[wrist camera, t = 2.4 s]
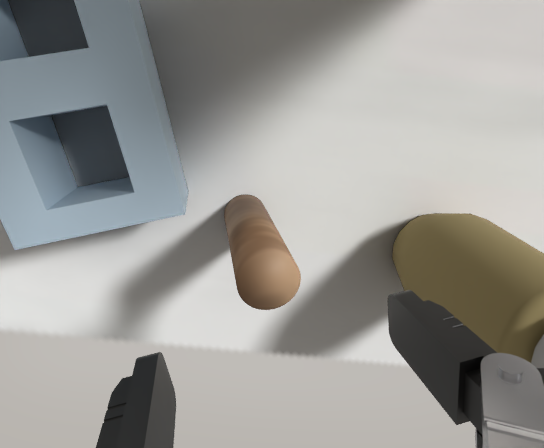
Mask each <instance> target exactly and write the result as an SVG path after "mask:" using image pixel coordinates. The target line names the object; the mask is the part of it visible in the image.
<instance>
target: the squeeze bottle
mask: <svg viewBox="0 0 544 448" xmlns="http://www.w3.org/2000/svg"><path fill="white" fill-rule="evenodd" d="M392 259H393V261H394V264H395V267H396V270H397V272H398V275H399V278H400V280H401V283H402V286H403V288H404V291H406V290H411V291H413V292H414V293H415V294H416V295H417V296H418V297H419V298H421V299H422V300H423V301H426V300H430V301H432V302H434V303H436V304H439V305H441V306H443V307H444V308H445V309H447V310H448V311H449V312H450V313H451V314H453V315H454V317H455V318H457V319H458V320H460V321H461V322H462V323H463V325H465V326H467V327H468V328H469V329H470V330H471V331H472V332H474V333H475V334H476V335H477V336H478V337H480V338H481V339H482V340H483V341H484V342H485V343H487V344H488V345H489V346H490V347H491V348H492V349H494V350H495V351H496V352H497V353H507V354H512V355H515V356H518V357H520V358H523V359H525V360H527V361H528V362H530V363H531V364H532V365H534V366H535V367H536V368H544V254H543V253H542V252H540V251H538V250H537V249H535V248H533V247H532V246H530V245H528V244H527V243H525V242H523V241H522V240H520V239H518V238H517V237H515V236H513V235H512V234H510V233H508V232H507V231H505V230H503V229H502V228H500V227H498V226H497V225H495V224H493V223H492V222H490V221H488V220H486V219H484V218H481V217H478V216H475V215H472V214H438V213H436V214H426V215H421V216H419V217H417V218H415V219H414V220H412V221H410V222H409V223H408V224H407V225H406V226H405V227H404V228H403V229H402V230H401V231H400V232H399V234H398V236H397V238H396V240H395V242H394V244H393V254H392Z"/></svg>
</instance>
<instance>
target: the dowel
mask: <svg viewBox="0 0 544 448" xmlns="http://www.w3.org/2000/svg"><path fill="white" fill-rule="evenodd" d="M224 218H225V224H226V229H227V235H228V240H229V246H230V251H231V257H232V262H233V268H234V274H235V279H236V285H237V290H238V293H239V295H240V297H241V298H242V300H243V301H244V302H245V303H246V304H248V305H249V306H251V307H253V308H256V309H261V310H270V309H275V308H278V307H281V306H283V305H284V304H286V303H287V302H289V301H290V300H291V299H292V298H293V297H294V296H295V294H296V293H297V291H298V288H299V286H300V279H301V277H300V271H299V268H298V266H297V264H296V263H295V261H294V259H293V257H292V255H291V254H290V252H289V250H288V248H287V246H286V245H285V243H284V241H283V239H282V238H281V236H280V234H279V232H278V230H277V229H276V227H275V225H274V223H273V221H272V220H271V218H270V216H269V214H268V212H267V211H266V209H265V207H264V205H263V203H262V202H261V201H260V200H259V199H258V198H256V197H254V196H252V195H239V196H237V197H235V198H233V199H232V200H231V201H230V202H229V203H228V204H227V206H226V208H225V212H224Z"/></svg>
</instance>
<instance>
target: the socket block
mask: <svg viewBox="0 0 544 448" xmlns="http://www.w3.org/2000/svg"><path fill="white" fill-rule="evenodd" d="M74 2H75V5H76V8H77V12H78V15H79V18H80V21H81V24H82V28H83V31H84V34H85V37H86V40H87V43H88V47H89V48H84V49H77V50H71V51H64V52H58V53H51V54H45V55H38V56H31V57H29V56H28V53H27V51H26V48H25V45H24V43H23V40H22V37H21V35H20V32H19V29H18V27H17V24H16V21H15V19H14V16H13V13H12V11H11V8H10V5H9V3H8V0H0V220H1V222H2V224H3V226H4V228H5V231H6V233H7V235H8V237H9V239H10V241H11V243H12V245H13V247H14V250H18V249H22V248H27V247H32V246H37V245H41V244H46V243H51V242H56V241H60V240H65V239H70V238H75V237H79V236H84V235H89V234H94V233H98V232H103V231H108V230H113V229H117V228H122V227H127V226H132V225H136V224H141V223H146V222H151V221H155V220H160V219H165V218H170V217H175V216H179V215H184V214H185V212H186V205H187V198H188V188H187V184H186V181H185V177H184V173H183V169H182V165H181V161H180V157H179V153H178V149H177V146H176V142H175V138H174V134H173V130H172V126H171V122H170V118H169V114H168V111H167V107H166V103H165V99H164V95H163V91H162V87H161V83H160V79H159V76H158V72H157V68H156V64H155V60H154V56H153V52H152V48H151V45H150V41H149V37H148V33H147V29H146V25H145V21H144V17H143V13H142V10H141V6H140V2H139V0H74ZM103 106H107V107H108V110H109V113H110V116H111V119H112V123H113V126H114V129H115V132H116V135H117V138H118V142H119V145H120V148H121V151H122V154H123V157H124V161H125V164H126V167H127V170H128V173H129V176H130V177H127V178H122V179H117V180H111V181H106V182H101V183H96V184H91V185H86V186H81V187H77V184H76V181H75V179H74V176H73V173H72V171H71V168H70V165H69V163H68V160H67V157H66V155H65V152H64V149H63V147H62V144H61V141H60V139H59V136H58V133H57V131H56V128H55V125H54V123H53V120H52V117H51V115H57V114H62V113H68V112H74V111H80V110H86V109H92V108H97V107H103Z"/></svg>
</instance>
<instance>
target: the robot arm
mask: <svg viewBox="0 0 544 448" xmlns="http://www.w3.org/2000/svg"><path fill="white" fill-rule="evenodd" d="M388 320H389V334H390V337H391V340H392V342H393V344H394V346H395V348H396V349H397V350H398V352H399V353H400V354H401V355H402V357H403V358H404V359H405V360H406V362H407V363H408V364H409V366H410V367H411V368H412V369H413V371H414V372H415V373H416V374H417V376H418V377H419V378H420V379H421V381H422V382H423V383H424V384H425V386H426V387H427V388H428V390H429V391H430V392H431V393H432V395H433V396H434V397H435V398H436V400H437V401H438V402H439V403H440V404H441V406H442V407H443V408H444V410H445V411H446V412H447V414H448V415H449V416H450V417H451V418H452V420H453V421H454V422H455V424H456V425H458V424H462V423H465V422H468V421H471V423H472V424H473V425H474V426H475V427H476V432H475V443H476V448H544V368H536V367H535V366H534V365H532V364H531V363H530V362H528V361H527V360H525V359H523V358H520V357H518V356H515V355H512V354H507V353H497V352H496V351H495V350H494V349H492V348H491V347H490V346H489V345H488V344H487V343H485V342H484V341H483V340H482V339H481V338H480V337H478V336H477V335H476V334H475V333H474V332H472V331H471V330H470V329H469V328H468V327H467V326H465V325H463V323H462V322H461V321H460V320H458V319H457V318H455V317H454V315H453V314H451V313H450V312H449V311H448V310H447V309H445V308H444V307H443V306H441V305H439V304H436V303H434V302H432V301H430V300H426V301H423V300H422V299H421V298H419V297H418V296H417V295H416V294H415V293H414V292H413V291H411V290H406V291H403V292H399V293H395V294H391V295H389V296H388ZM175 413H176V398H175V391H174V387H173V384H172V381H171V378H170V375H169V372H168V369H167V366H166V363H165V360H164V357H163V355H162V353H161V352H159V353H155V354H151V355H147V356H143V357H139V358H137V359H136V363H135V367H134V371H133V375H132V376H130V377H126V378H123V379H122V380H121V381H120V382H119V384H118V385H117V386H116V388H115V389H114V391H113V392H112V394H111V397H110V401H109V404H108V410H107V411H106V415H105V419H104V423H103V425H102V428H101V432H100V435H99V439H98V442H97V446H96V448H173V443H174V442H173V441H174V429H175Z"/></svg>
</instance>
